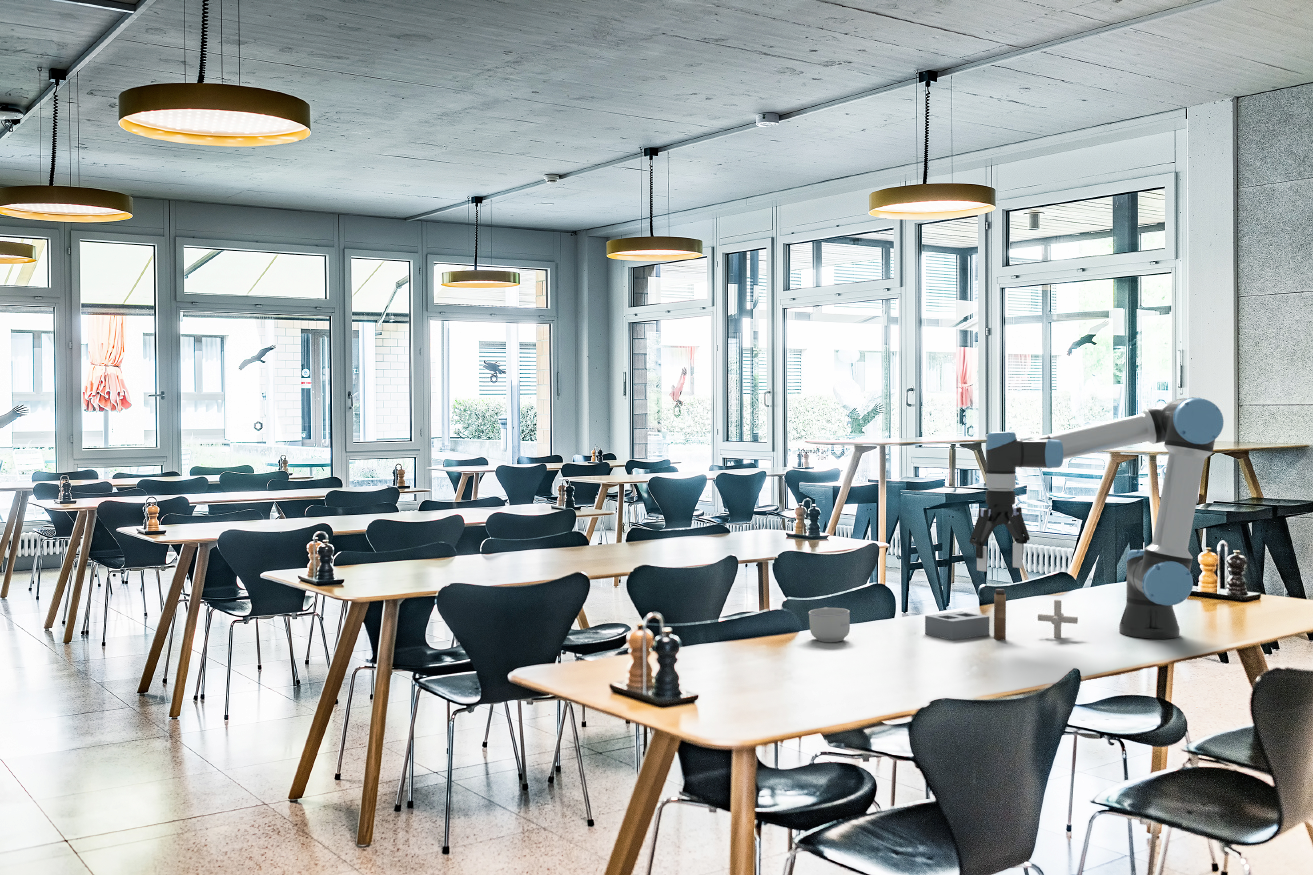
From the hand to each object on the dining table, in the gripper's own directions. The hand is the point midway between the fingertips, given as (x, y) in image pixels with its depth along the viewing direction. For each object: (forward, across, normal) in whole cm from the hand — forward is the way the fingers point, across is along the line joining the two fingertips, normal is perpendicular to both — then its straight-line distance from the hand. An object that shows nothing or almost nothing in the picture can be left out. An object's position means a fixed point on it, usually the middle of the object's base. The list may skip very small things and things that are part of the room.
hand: (999, 569), depth 312 cm
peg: (+19, 0, 0) cm, 19 cm away
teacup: (+19, +39, -23) cm, 49 cm away
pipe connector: (+19, -15, +7) cm, 25 cm away
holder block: (+19, +5, -10) cm, 22 cm away
